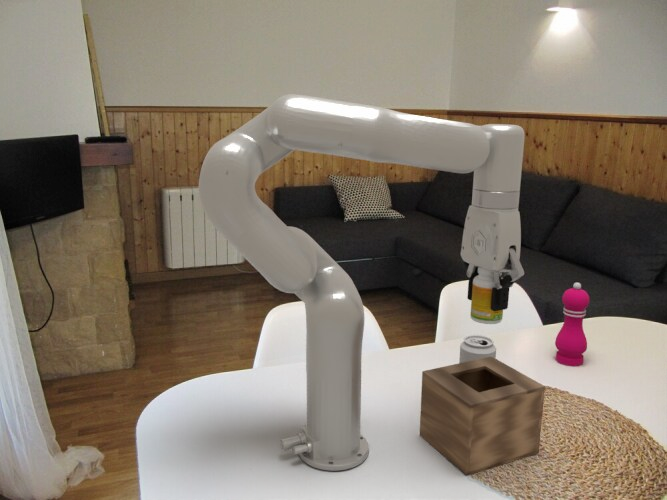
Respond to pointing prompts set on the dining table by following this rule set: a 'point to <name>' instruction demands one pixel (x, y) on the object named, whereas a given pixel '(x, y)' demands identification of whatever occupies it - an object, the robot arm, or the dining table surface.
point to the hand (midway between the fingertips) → (487, 303)
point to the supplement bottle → (484, 299)
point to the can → (476, 348)
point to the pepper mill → (572, 327)
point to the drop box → (481, 413)
